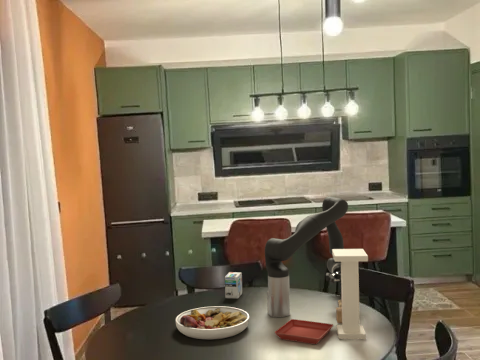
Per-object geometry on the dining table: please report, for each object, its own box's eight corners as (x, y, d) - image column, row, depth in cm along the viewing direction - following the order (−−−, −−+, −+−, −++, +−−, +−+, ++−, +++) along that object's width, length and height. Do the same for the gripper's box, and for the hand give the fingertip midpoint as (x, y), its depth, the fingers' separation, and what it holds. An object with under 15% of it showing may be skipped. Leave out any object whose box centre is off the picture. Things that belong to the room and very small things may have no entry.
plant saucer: (291, 326, 213) (291, 318, 213) (334, 332, 205) (334, 323, 205) (273, 340, 197) (273, 332, 197) (319, 347, 189) (319, 338, 188)
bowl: (215, 313, 233) (214, 295, 233) (264, 327, 212) (264, 308, 212) (161, 330, 212) (160, 311, 212) (210, 348, 191) (209, 327, 191)
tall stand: (333, 328, 208) (332, 249, 206) (364, 328, 206) (362, 248, 205) (336, 341, 194) (334, 256, 192) (369, 341, 192) (367, 255, 191)
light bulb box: (238, 298, 254) (237, 277, 253) (225, 298, 255) (224, 276, 255) (242, 292, 264) (242, 272, 264) (229, 292, 266) (229, 271, 265)
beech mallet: (332, 306, 237) (332, 295, 237) (350, 306, 236) (350, 295, 236) (337, 323, 214) (337, 311, 214) (357, 323, 213) (356, 311, 213)
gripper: (324, 264, 245) (326, 272, 229) (355, 264, 244) (359, 272, 228) (325, 280, 246) (327, 289, 230) (355, 280, 244) (359, 289, 228)
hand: (343, 280), depth 229 cm, fingers open, 8 cm apart
